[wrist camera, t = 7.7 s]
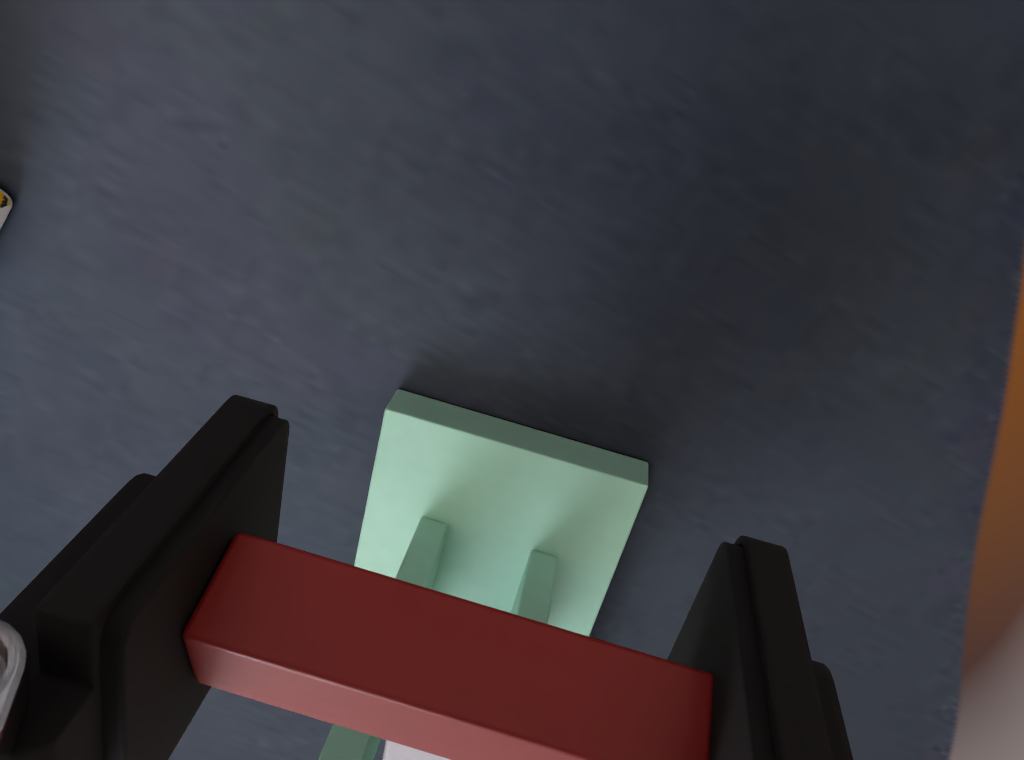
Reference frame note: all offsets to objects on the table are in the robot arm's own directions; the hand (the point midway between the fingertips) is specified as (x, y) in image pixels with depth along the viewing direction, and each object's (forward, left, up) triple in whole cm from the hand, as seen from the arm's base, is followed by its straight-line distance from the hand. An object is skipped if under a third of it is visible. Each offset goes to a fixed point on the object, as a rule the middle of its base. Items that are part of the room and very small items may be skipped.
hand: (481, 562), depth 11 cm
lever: (+6, +2, -2) cm, 7 cm away
